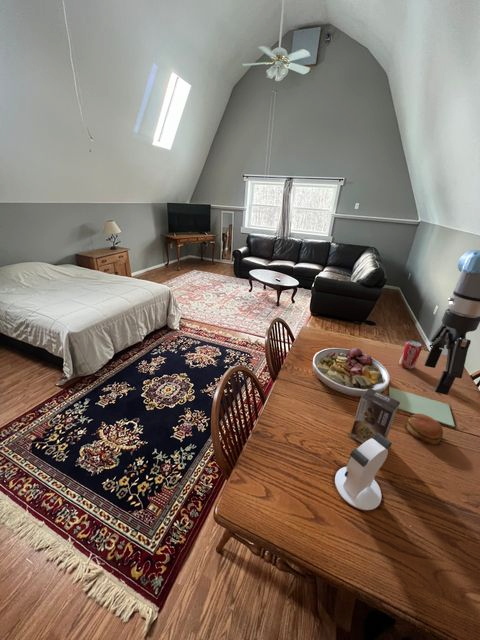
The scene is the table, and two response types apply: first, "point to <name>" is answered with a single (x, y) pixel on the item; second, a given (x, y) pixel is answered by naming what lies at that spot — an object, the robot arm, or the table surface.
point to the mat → (422, 406)
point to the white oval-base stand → (363, 474)
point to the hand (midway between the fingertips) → (434, 378)
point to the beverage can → (410, 354)
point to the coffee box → (374, 415)
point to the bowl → (350, 371)
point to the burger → (425, 428)
